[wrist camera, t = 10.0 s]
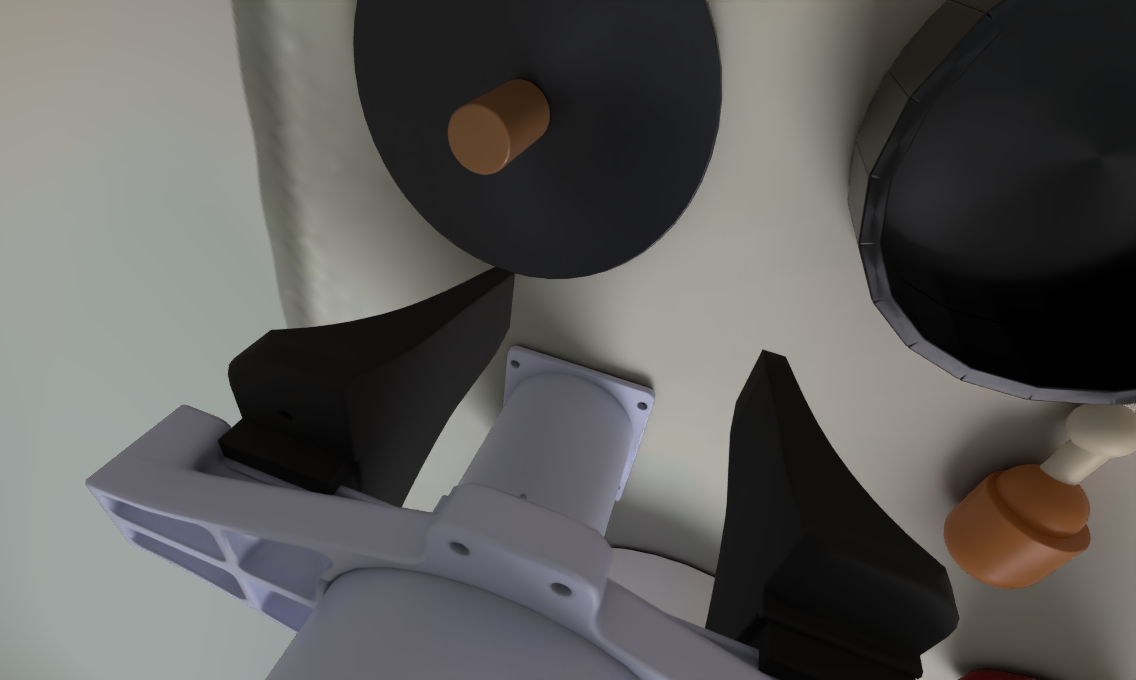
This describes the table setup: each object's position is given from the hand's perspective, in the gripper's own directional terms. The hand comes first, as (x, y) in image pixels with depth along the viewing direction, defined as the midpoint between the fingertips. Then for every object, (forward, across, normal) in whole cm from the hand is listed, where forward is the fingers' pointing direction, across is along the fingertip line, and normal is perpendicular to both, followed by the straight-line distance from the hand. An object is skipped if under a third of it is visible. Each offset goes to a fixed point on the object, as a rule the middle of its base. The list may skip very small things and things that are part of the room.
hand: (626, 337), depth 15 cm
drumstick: (+8, -18, +7) cm, 21 cm away
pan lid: (+8, +6, -3) cm, 10 cm away
